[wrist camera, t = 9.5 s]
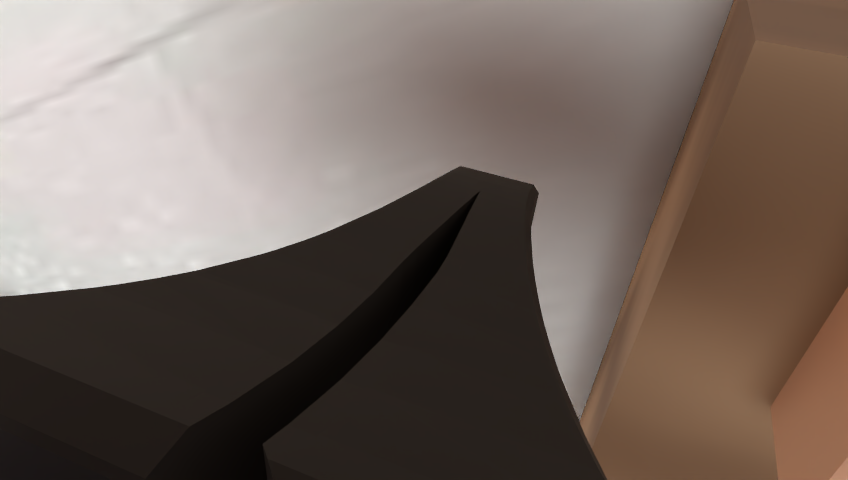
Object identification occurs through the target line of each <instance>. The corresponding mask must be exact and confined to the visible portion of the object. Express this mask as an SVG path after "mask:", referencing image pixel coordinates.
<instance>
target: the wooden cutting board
mask: <svg viewBox="0 0 848 480" xmlns="http://www.w3.org/2000/svg"><path fill="white" fill-rule="evenodd" d="M847 287H848V0H734V2H733V4H732V7H731V10H730V12H729V15H728V18H727V21H726V23H725V26H724V29H723V32H722V34H721V37H720V40H719V43H718V45H717V48H716V51H715V53H714V56H713V59H712V62H711V64H710V67H709V70H708V73H707V75H706V78H705V81H704V83H703V86H702V89H701V92H700V94H699V97H698V100H697V103H696V105H695V108H694V111H693V114H692V116H691V119H690V122H689V124H688V127H687V130H686V133H685V135H684V138H683V141H682V144H681V146H680V149H679V152H678V154H677V157H676V160H675V163H674V165H673V168H672V171H671V174H670V176H669V179H668V182H667V185H666V187H665V190H664V193H663V195H662V198H661V201H660V204H659V206H658V209H657V212H656V215H655V217H654V220H653V223H652V226H651V228H650V231H649V234H648V236H647V239H646V242H645V245H644V247H643V250H642V253H641V256H640V258H639V261H638V264H637V266H636V269H635V272H634V275H633V277H632V280H631V283H630V286H629V288H628V291H627V294H626V297H625V299H624V302H623V305H622V307H621V310H620V313H619V316H618V318H617V321H616V324H615V327H614V329H613V332H612V335H611V337H610V340H609V343H608V346H607V348H606V351H605V354H604V357H603V359H602V362H601V365H600V368H599V370H598V373H597V376H596V378H595V381H594V384H593V387H592V389H591V392H590V395H589V398H588V400H587V403H586V406H585V409H584V411H583V414H582V417H581V419H580V425H581V427H582V429H583V432H584V434H585V436H586V438H587V440H588V442H589V444H590V446H591V448H592V450H593V452H594V454H595V456H596V458H597V460H598V462H599V464H600V466H601V468H602V470H603V472H604V474H605V476H606V478H607V480H778V474H777V464H776V455H775V445H774V436H773V426H772V417H771V405H772V404H773V402H774V401H775V399H776V397H777V396H778V394H779V393H780V391H781V390H782V388H783V387H784V385H785V383H786V382H787V380H788V379H789V377H790V376H791V374H792V373H793V371H794V369H795V368H796V366H797V365H798V363H799V362H800V360H801V359H802V357H803V356H804V354H805V352H806V351H807V349H808V348H809V346H810V345H811V343H812V342H813V340H814V338H815V337H816V335H817V334H818V332H819V331H820V329H821V328H822V326H823V324H824V323H825V321H826V320H827V318H828V317H829V315H830V314H831V312H832V310H833V309H834V307H835V306H836V304H837V303H838V301H839V300H840V298H841V297H842V295H843V293H844V292H845V290H846V289H847Z"/></svg>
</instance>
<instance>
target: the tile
mask: <svg viewBox="0 0 848 480" xmlns="http://www.w3.org/2000/svg"><path fill="white" fill-rule="evenodd" d="M771 417H772V426H773V436H774V445H775V455H776V464H777V474H778V480H848V287H847V289H846V290H845V292H844V293H843V295H842V297H841V298H840V300H839V301H838V303H837V304H836V306H835V307H834V309H833V310H832V312H831V314H830V315H829V317H828V318H827V320H826V321H825V323H824V324H823V326H822V328H821V329H820V331H819V332H818V334H817V335H816V337H815V338H814V340H813V342H812V343H811V345H810V346H809V348H808V349H807V351H806V352H805V354H804V356H803V357H802V359H801V360H800V362H799V363H798V365H797V366H796V368H795V369H794V371H793V373H792V374H791V376H790V377H789V379H788V380H787V382H786V383H785V385H784V387H783V388H782V390H781V391H780V393H779V394H778V396H777V397H776V399H775V401H774V402H773V404H772V405H771Z"/></svg>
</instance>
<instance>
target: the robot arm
mask: <svg viewBox="0 0 848 480" xmlns="http://www.w3.org/2000/svg"><path fill="white" fill-rule="evenodd" d="M538 194H539V193H538V191H537V190H536V188H535V187H534V185H532V184H528V183H524V182H520V181H517V180H513V179H509V178H505V177H501V176H497V175H493V174H489V173H485V172H481V171H477V170H474V169H470V168H466V167H462V166H460V167H458V168H456V169H454V170H452V171H450V172H448V173H446V174H444V175H443V176H441V177H439V178H437V179H435V180H433V181H432V182H430V183H428V184H426V185H424V186H422V187H421V188H419V189H417V190H415V191H413V192H411V193H409V194H407V195H405V196H403V197H401V198H400V199H398V200H396V201H394V202H392V203H390V204H388V205H386V206H384V207H382V208H380V209H378V210H375V211H373V212H371V213H369V214H367V215H364V216H362V217H360V218H358V219H355V220H353V221H351V222H349V223H346V224H344V225H342V226H340V227H338V228H335V229H333V230H331V231H328V232H326V233H323V234H320V235H318V236H315V237H312V238H310V239H307V240H304V241H301V242H298V243H295V244H292V245H289V246H286V247H283V248H280V249H277V250H274V251H271V252H268V253H264V254H261V255H257V256H253V257H249V258H245V259H241V260H237V261H233V262H229V263H225V264H221V265H217V266H213V267H209V268H206V269H202V270H197V271H192V272H188V273H182V274H177V275H172V276H167V277H161V278H156V279H150V280H143V281H137V282H131V283H125V284H118V285H111V286H103V287H96V288H87V289H77V290H67V291H57V292H47V293H37V294H27V295H17V296H3V297H0V480H607V478H606V476H605V474H604V472H603V470H602V468H601V466H600V464H599V462H598V460H597V458H596V456H595V454H594V452H593V450H592V448H591V446H590V444H589V442H588V440H587V438H586V436H585V434H584V432H583V429H582V427H581V425H580V422H579V420H578V417H577V415H576V413H575V410H574V408H573V405H572V403H571V401H570V398H569V396H568V393H567V391H566V389H565V386H564V384H563V382H562V379H561V376H560V374H559V371H558V368H557V365H556V362H555V359H554V356H553V353H552V350H551V347H550V343H549V340H548V336H547V333H546V329H545V326H544V322H543V317H542V313H541V309H540V304H539V299H538V294H537V288H536V282H535V276H534V268H533V258H532V244H531V225H532V221H533V216H534V212H535V207H536V203H537V198H538Z"/></svg>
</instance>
